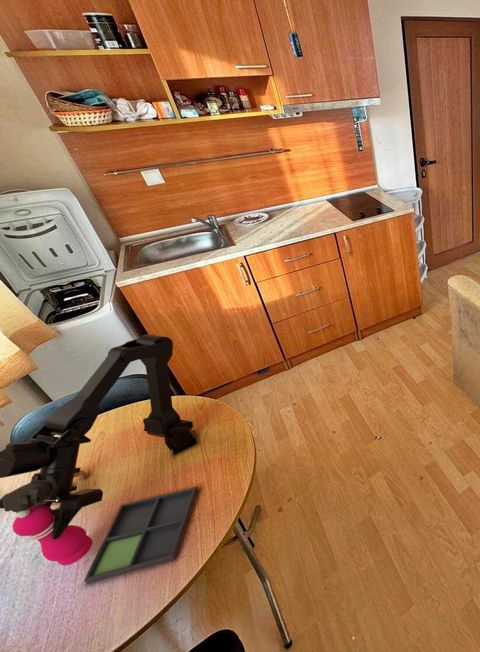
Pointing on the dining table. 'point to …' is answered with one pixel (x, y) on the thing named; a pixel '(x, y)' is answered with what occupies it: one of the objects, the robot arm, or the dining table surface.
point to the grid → (143, 535)
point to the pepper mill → (40, 527)
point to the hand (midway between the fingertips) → (44, 538)
